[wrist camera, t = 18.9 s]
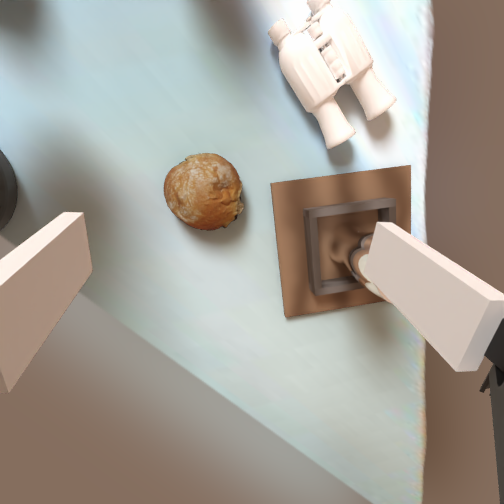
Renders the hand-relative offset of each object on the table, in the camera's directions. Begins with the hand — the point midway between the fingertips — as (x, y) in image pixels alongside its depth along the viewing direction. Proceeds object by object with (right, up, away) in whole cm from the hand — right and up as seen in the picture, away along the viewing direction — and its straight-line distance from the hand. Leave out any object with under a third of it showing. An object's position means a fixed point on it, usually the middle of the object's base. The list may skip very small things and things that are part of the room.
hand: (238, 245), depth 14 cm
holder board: (+14, +1, +32) cm, 35 cm away
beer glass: (+14, +1, +31) cm, 35 cm away
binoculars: (+10, +23, +27) cm, 37 cm away
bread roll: (-6, +8, +29) cm, 30 cm away
